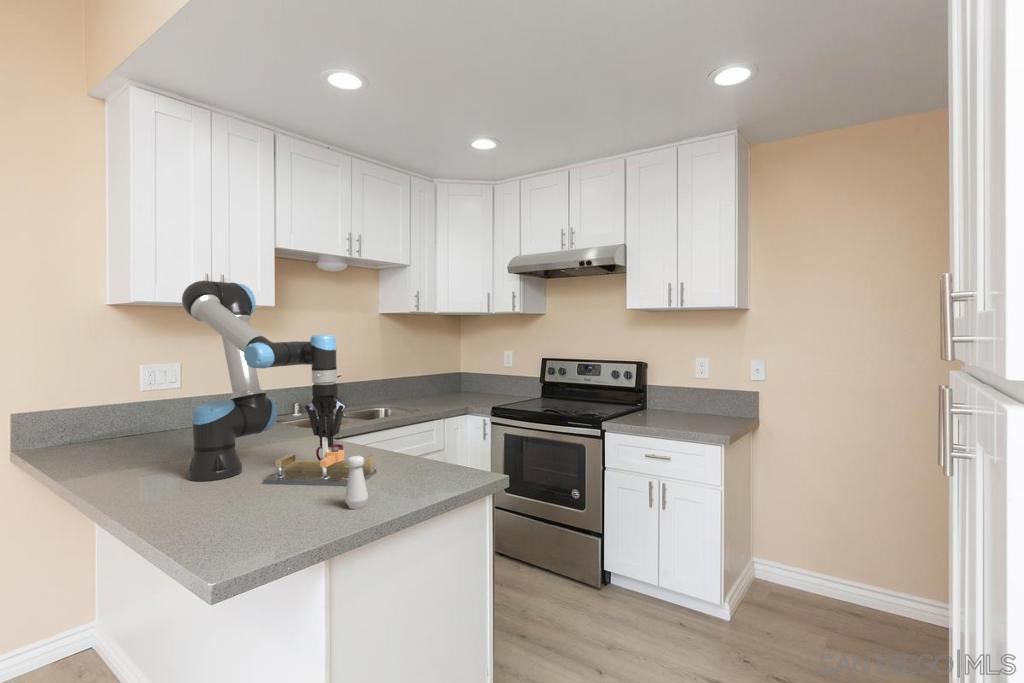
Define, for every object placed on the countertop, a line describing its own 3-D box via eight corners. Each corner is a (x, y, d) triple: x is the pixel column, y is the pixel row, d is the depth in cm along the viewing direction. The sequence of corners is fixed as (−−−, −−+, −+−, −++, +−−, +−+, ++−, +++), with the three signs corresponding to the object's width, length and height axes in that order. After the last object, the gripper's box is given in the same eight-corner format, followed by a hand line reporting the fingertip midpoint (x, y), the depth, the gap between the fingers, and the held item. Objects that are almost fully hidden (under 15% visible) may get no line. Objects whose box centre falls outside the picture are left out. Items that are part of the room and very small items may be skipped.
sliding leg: (317, 476, 156) (316, 453, 155) (332, 467, 165) (332, 446, 165) (329, 476, 155) (329, 453, 155) (344, 468, 165) (343, 446, 164)
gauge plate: (263, 483, 155) (263, 479, 154) (289, 470, 168) (289, 466, 168) (357, 486, 150) (357, 481, 150) (376, 472, 164) (376, 468, 164)
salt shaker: (360, 501, 137) (358, 452, 137) (372, 505, 133) (371, 456, 133) (340, 507, 133) (339, 457, 132) (353, 512, 129) (351, 460, 129)
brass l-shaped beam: (272, 476, 158) (272, 460, 158) (289, 468, 167) (289, 453, 166) (362, 478, 154) (361, 462, 154) (374, 470, 163) (373, 454, 162)
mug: (333, 469, 169) (332, 449, 169) (311, 466, 173) (310, 446, 173) (348, 464, 175) (347, 445, 175) (326, 462, 179) (325, 442, 179)
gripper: (299, 384, 160) (301, 459, 160) (338, 384, 158) (340, 460, 158) (311, 382, 167) (314, 454, 168) (349, 381, 165) (351, 454, 166)
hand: (327, 457), depth 163 cm, fingers closed
